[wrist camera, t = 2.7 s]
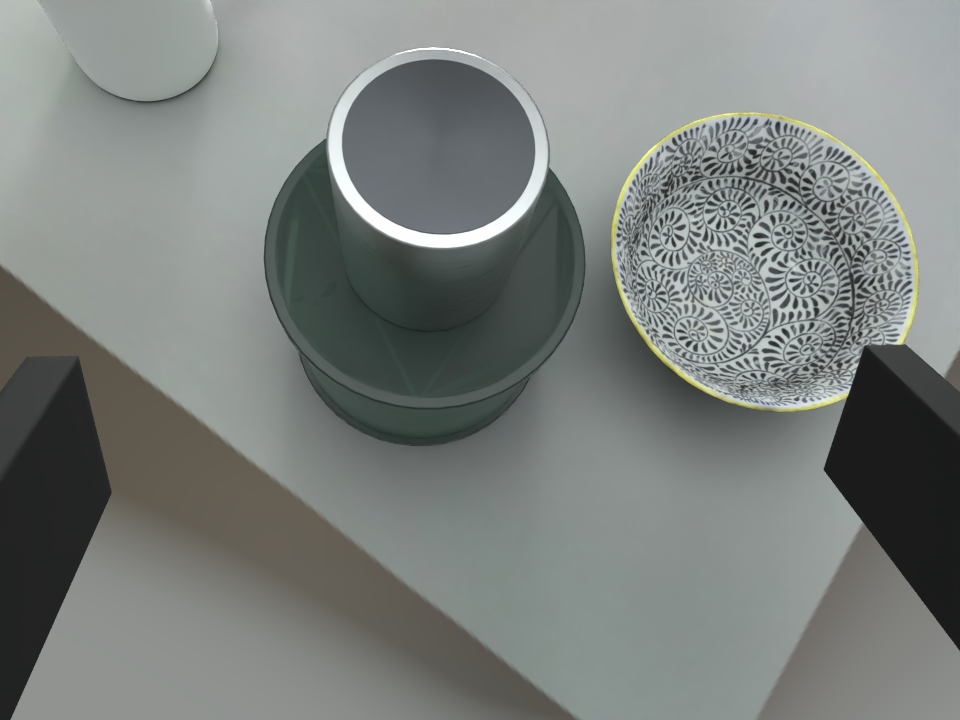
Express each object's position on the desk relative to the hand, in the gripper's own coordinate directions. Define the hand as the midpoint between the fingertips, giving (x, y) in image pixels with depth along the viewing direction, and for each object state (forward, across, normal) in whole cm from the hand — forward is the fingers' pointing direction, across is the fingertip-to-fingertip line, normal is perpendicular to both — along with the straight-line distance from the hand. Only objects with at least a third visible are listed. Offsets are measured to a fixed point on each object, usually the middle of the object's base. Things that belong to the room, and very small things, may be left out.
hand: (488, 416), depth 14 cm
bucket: (+28, 0, -13) cm, 31 cm away
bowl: (+29, +17, -13) cm, 36 cm away
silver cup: (+21, 0, -6) cm, 21 cm away
